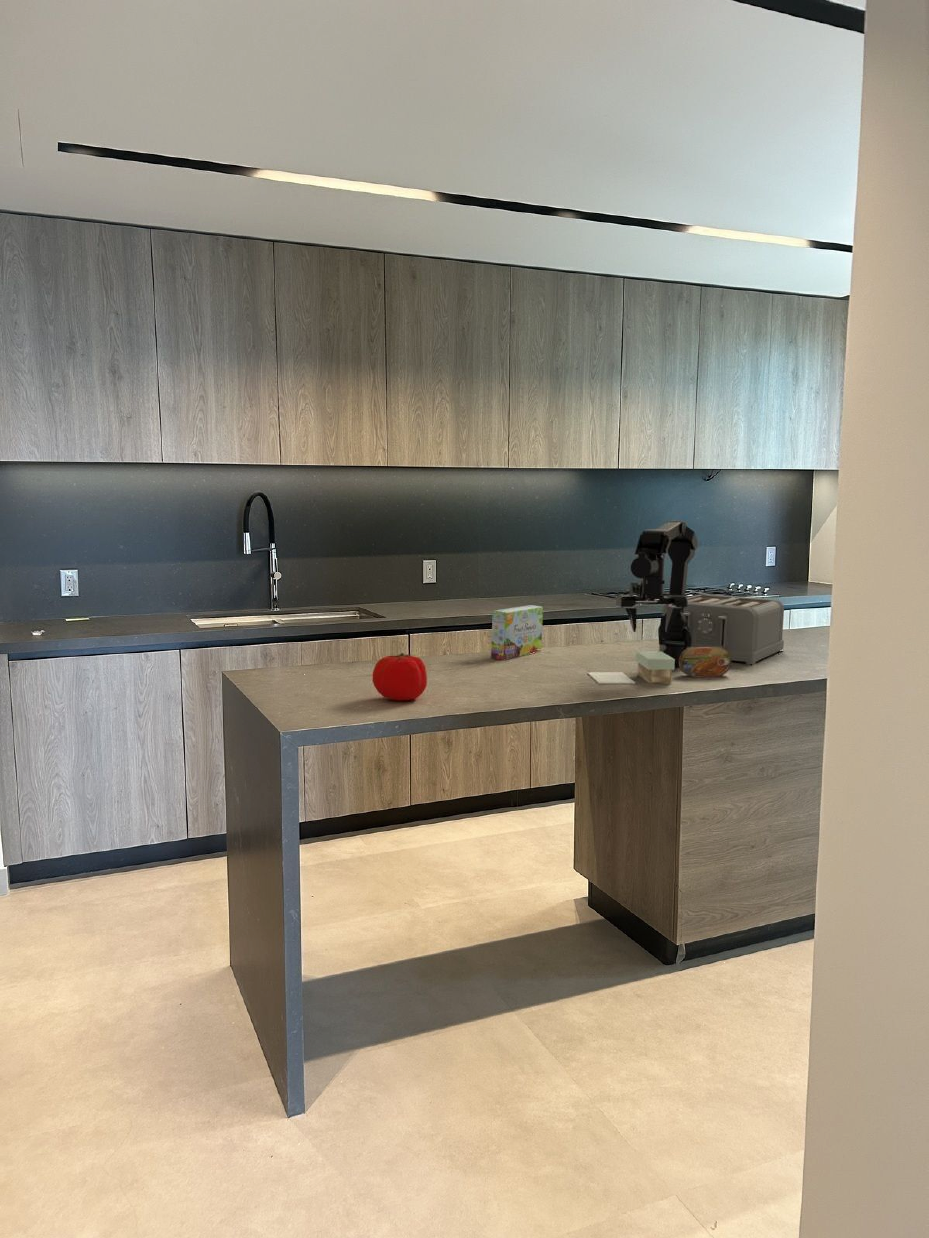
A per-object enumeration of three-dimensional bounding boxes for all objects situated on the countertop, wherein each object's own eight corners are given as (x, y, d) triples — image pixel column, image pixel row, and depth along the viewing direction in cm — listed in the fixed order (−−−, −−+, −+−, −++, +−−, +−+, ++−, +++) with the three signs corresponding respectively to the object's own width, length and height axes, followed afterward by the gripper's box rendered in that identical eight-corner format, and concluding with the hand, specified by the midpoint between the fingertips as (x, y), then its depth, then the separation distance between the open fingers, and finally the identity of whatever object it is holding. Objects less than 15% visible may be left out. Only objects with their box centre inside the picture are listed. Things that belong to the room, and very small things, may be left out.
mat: (622, 673, 264) (622, 672, 264) (635, 683, 251) (635, 682, 251) (587, 673, 264) (587, 672, 263) (598, 684, 250) (599, 682, 250)
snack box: (505, 661, 282) (506, 612, 280) (490, 658, 285) (491, 610, 283) (542, 652, 298) (543, 605, 296) (528, 650, 302) (529, 604, 300)
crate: (658, 674, 263) (658, 661, 263) (671, 683, 251) (671, 669, 251) (637, 675, 263) (638, 661, 262) (649, 683, 251) (650, 669, 250)
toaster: (653, 656, 295) (655, 602, 293) (694, 641, 324) (697, 592, 322) (748, 667, 278) (752, 610, 275) (783, 651, 307) (786, 599, 304)
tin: (680, 677, 261) (682, 648, 260) (676, 675, 264) (678, 646, 263) (731, 676, 263) (732, 647, 262) (726, 674, 266) (727, 645, 265)
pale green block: (660, 666, 263) (661, 651, 263) (674, 675, 251) (674, 659, 250) (635, 666, 263) (636, 651, 262) (648, 675, 250) (648, 659, 250)
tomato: (427, 705, 223) (428, 657, 221) (372, 705, 222) (372, 658, 220) (425, 693, 235) (426, 649, 233) (372, 694, 234) (372, 649, 232)
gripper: (676, 573, 263) (673, 627, 265) (612, 572, 261) (610, 627, 263) (689, 577, 252) (686, 633, 254) (622, 576, 250) (620, 633, 252)
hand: (650, 631), depth 256 cm, fingers open, 9 cm apart
